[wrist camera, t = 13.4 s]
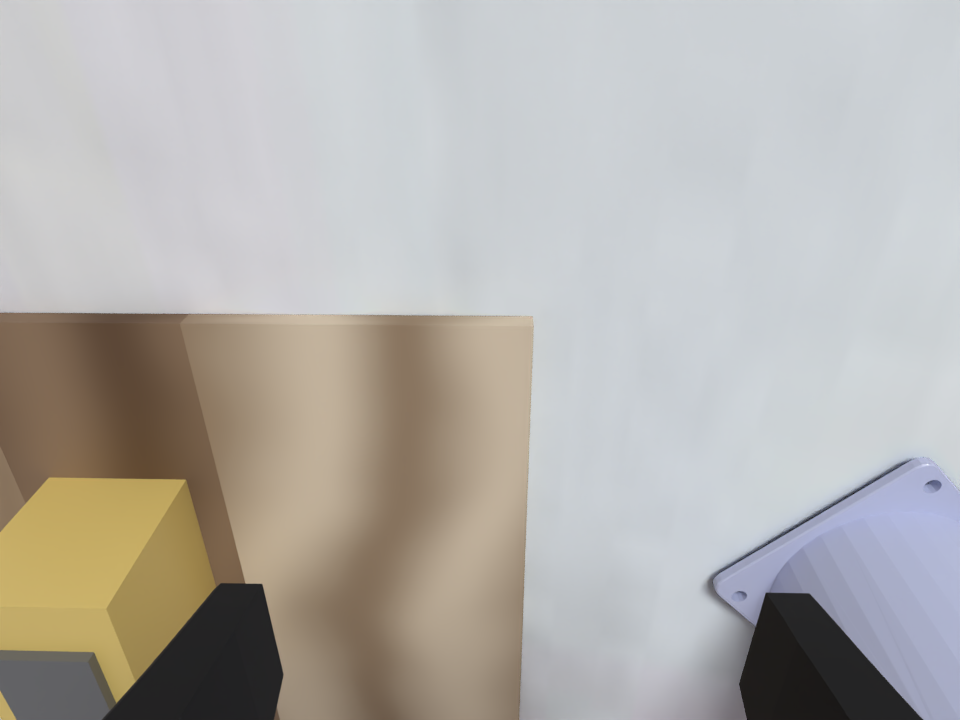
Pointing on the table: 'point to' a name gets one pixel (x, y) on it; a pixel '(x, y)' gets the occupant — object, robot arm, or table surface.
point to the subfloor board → (312, 481)
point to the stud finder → (94, 592)
